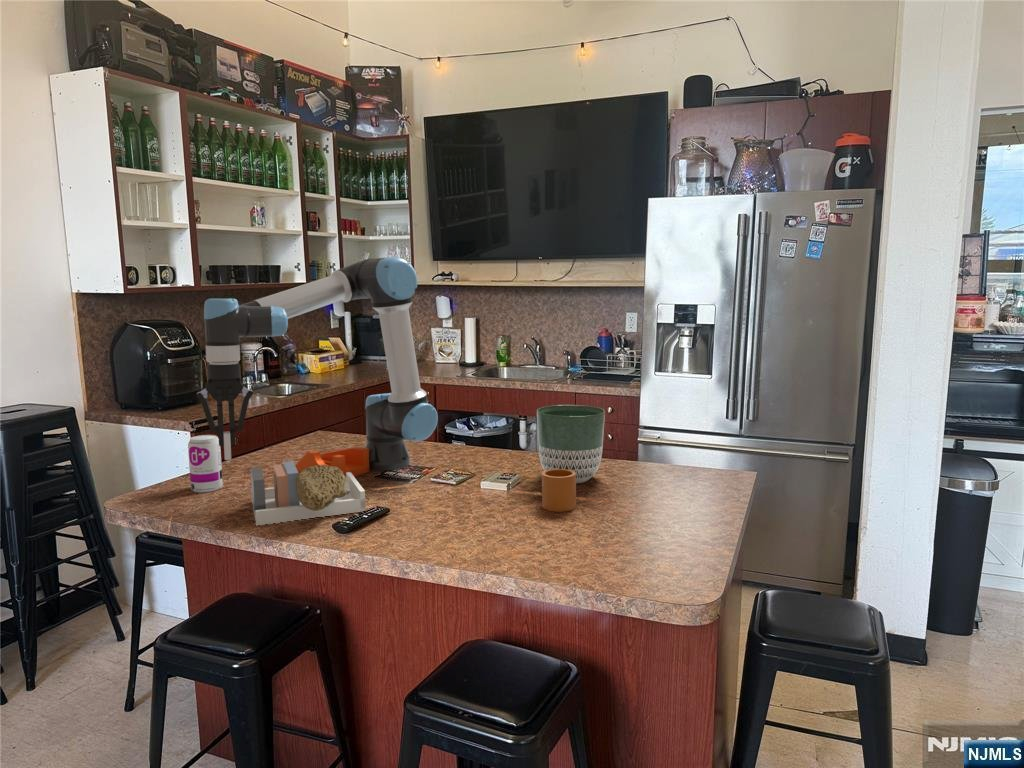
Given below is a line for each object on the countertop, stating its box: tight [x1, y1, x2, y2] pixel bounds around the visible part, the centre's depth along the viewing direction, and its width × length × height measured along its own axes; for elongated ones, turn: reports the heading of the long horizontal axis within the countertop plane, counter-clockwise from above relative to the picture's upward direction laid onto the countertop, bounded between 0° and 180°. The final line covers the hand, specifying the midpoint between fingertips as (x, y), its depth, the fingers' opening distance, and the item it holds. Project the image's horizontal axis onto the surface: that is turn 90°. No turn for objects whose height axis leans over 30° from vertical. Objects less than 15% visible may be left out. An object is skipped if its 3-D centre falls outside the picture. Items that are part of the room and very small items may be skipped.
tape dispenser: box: [295, 446, 370, 477], centre depth 209 cm, size 18×13×8 cm
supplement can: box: [187, 434, 223, 494], centre depth 193 cm, size 8×8×15 cm
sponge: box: [295, 465, 350, 511], centre depth 171 cm, size 13×8×20 cm
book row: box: [272, 460, 300, 508], centre depth 176 cm, size 5×13×10 cm, turn 23°
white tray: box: [250, 472, 366, 527], centre depth 178 cm, size 26×20×6 cm
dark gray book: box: [250, 466, 266, 513], centre depth 173 cm, size 2×14×9 cm, turn 23°
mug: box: [541, 469, 577, 513], centre depth 179 cm, size 9×12×9 cm
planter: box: [536, 404, 606, 485], centre depth 199 cm, size 20×20×21 cm
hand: (227, 458), depth 169 cm, fingers closed
